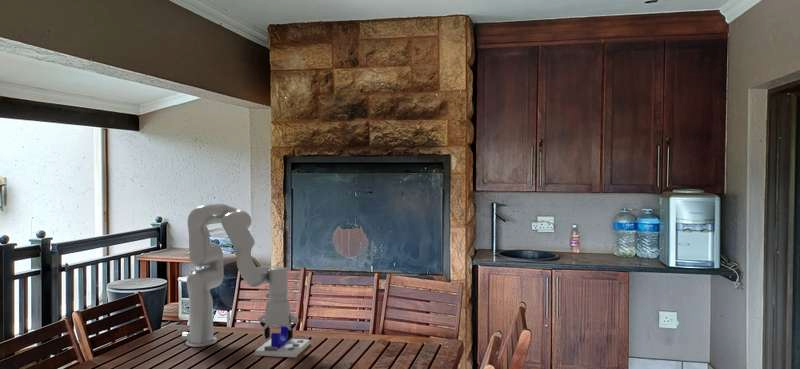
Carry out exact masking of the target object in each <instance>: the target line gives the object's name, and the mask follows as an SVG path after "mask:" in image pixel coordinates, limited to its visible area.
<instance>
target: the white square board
mask: <svg viewBox="0 0 800 369" xmlns="http://www.w3.org/2000/svg"><path fill="white" fill-rule="evenodd" d="M310 340H311V339H309V338H308V339H305V338H304V339H303V338H293V337H292V338H291V339H290V340H289V341H288V342H286V343H285V344H284V345H283V346H282V347H280V348H279V349H277V347H271V338H270V339H269V340H267V341H266V342H264V343H263V344H262V345H260V346H259V347H257V348H256V349H255V350H254V356H259V357H260V356H262V357H263V356H264V357H280V358H281V357H282V358H283V357H284V358H297V357H298V355H300V354H301V353H302V352H304V350H305V349H306V348H308V347H309V346H310V344H311V341H310Z"/></svg>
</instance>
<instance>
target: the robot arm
mask: <svg viewBox="0 0 800 369" xmlns="http://www.w3.org/2000/svg"><path fill="white" fill-rule="evenodd" d="M212 224H221V225H222V227H223V230H224V231H225V234H226V235H227V237H228V239H229V240H230V242H231V244H232V246H233V248H234V250H235V260H236V266H237V269H238V270H237V271H238V272H239V274H240V276H241V278H242V279H243V281H244V282H245V284H246V285H247V286H248V287H252V288H257V287H260V286H264V285H265V284H268V293H267V294H265V297H266V298H268V300H267V301H266V304H265V311H264V312H265V313H264V314H263V315H262V316H259V317H258V319H257V320H258V321H259V324H260V325H261V327H262V328H263V330H264V333H263V334H264V335H263V336H264V337H265V340H267V339H269V338H271V337H270V336H271V328H270V327H271V326H272V327H282V326H286V327H287V328H288V329H289V330H288V331H287V332H288V340H290V339H291V338H292V339H293V337H294V335H293V334H294V328H295V327H296V326H297V325H298V323H299V320H300V319H299V318H298V317H296V316H294V315H293V314H292V310H291V308H292V307H291V303H290V300H289V299H288V298H289V296H288V295H289V294H288V289H289V288H288V268H286V267H284V266H271V265H268V264H267V265H266V264H265V265H260V266H256V264H255V263H254V261H253V258H252V249H253V247H254V245H255V242H256V241H255V239H254V237H253V235H252V234H251V231H250V230H249V229H250V227H251V225H252V218H251V215H250V214H249V213H248V212H247V211H245V210H242V209H239V208H236V207H233V206H230V205H227V204H224V203H214V204H213V203H212V204H211V203H209V204H204V205H202V204H201V205H199V206H197V207H195V208H194V209H192V210H191V211H190V213H189V215H188V217H187V230H188V231H187V232H188V248H189V249H188V253H189V255H188V256H189V262H190V264H191V265H192V266H194V267H197V268H199V267H203V268H199V269H197V270H194V271H192V272H191V273H190V274H189V275H188V276H187V279H186V288H187V294H188V306H189V307H188V308H189V310H188V312H189V314H188V316H189V318H188V319H189V332H187V331H186V332H185V331H183V332H182V333H181V338H182V339H186V341H185V345H186V346H188V347H192V348H201V347H208V346H210V345H213V344H214V345H215V344H216V343H217V341H218V338H217V336H214V306H213V305H214V303H213V302H214V301H213V296H212V294H211V292H210V291H211V289H214V288H217V287H219V286H220V285H222V283H223V280H224V277H225V276H224V272H225V271H224V269H225V268H224V253H223V249H222V247H221V245H219V244H218V243H216V242H213V241H211V234H210V230H209V229H208V225H212ZM292 321H293V323H292Z"/></svg>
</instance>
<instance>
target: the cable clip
mask: <svg viewBox="0 0 800 369" xmlns="http://www.w3.org/2000/svg"><path fill="white" fill-rule="evenodd" d="M288 330H289V329H288V328H287V327H286V326H280V332H272V333H270V336H271V337H270V339H271V347H277V349H279V348H280V347H282V346H283V345H284V344H285V343H286V342H288V341H289V340H288V332H287V331H288Z"/></svg>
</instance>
